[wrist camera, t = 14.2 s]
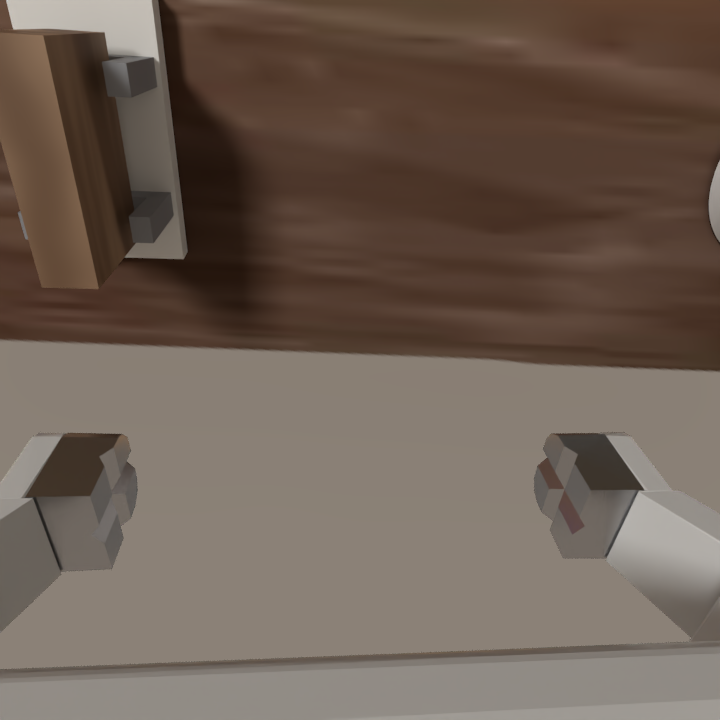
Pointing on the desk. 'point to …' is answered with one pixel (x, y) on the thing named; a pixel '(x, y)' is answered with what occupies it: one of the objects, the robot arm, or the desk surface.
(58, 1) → the white and grey rack
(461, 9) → the desk surface
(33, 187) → the door panel
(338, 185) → the desk surface
